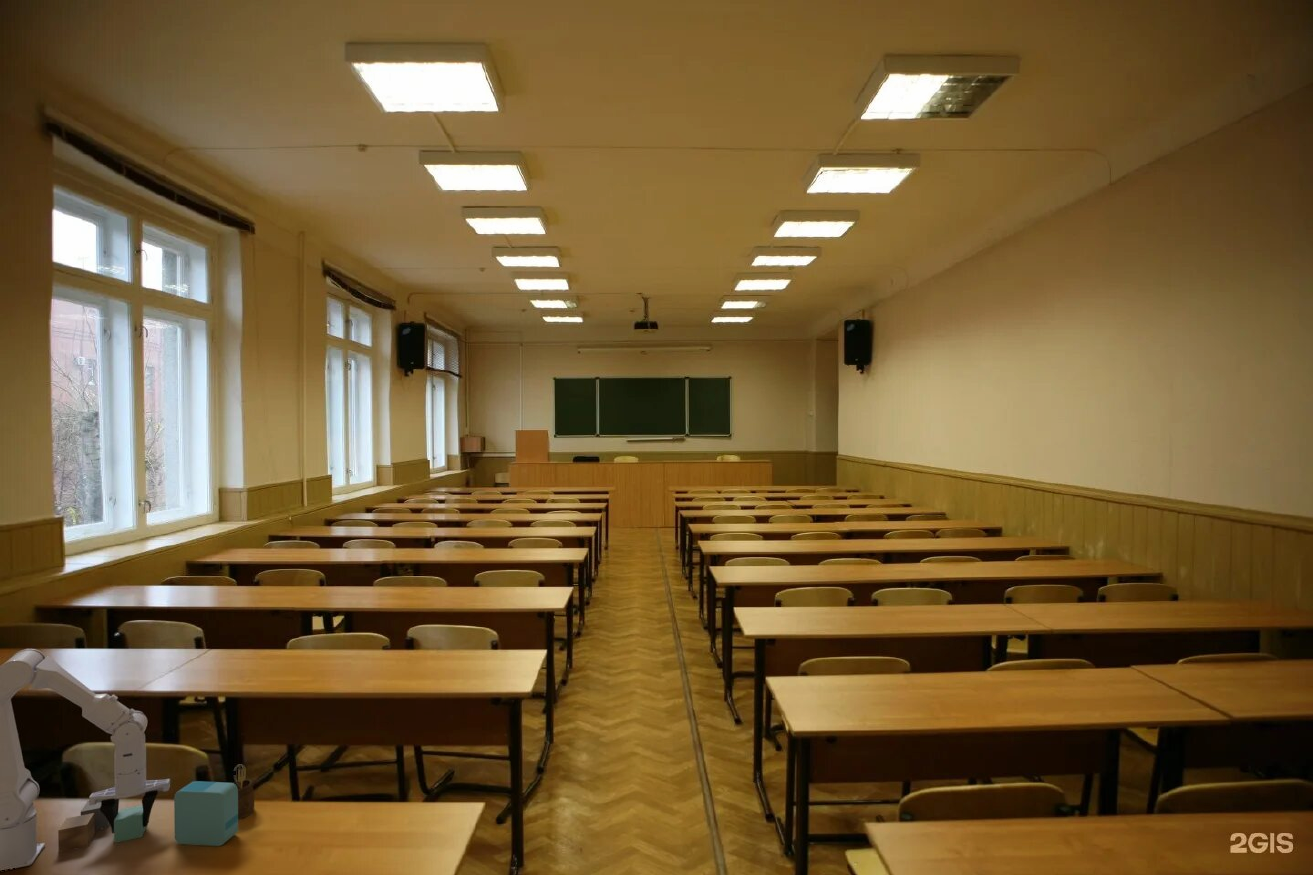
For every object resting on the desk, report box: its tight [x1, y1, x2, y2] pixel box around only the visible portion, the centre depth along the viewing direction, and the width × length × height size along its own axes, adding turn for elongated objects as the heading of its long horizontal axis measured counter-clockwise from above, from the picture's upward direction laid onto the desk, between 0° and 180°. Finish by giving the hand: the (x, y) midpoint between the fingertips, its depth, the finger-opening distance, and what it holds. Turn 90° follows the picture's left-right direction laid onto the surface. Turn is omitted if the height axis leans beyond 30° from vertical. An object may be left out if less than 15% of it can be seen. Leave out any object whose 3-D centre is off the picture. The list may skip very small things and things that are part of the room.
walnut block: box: [57, 813, 95, 853], centre depth 151 cm, size 5×5×5 cm
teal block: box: [113, 804, 148, 844], centre depth 155 cm, size 5×5×5 cm
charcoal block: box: [80, 800, 110, 831], centre depth 158 cm, size 5×5×5 cm
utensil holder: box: [233, 763, 255, 820], centre depth 163 cm, size 6×6×12 cm
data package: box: [173, 780, 239, 847], centre depth 153 cm, size 12×4×12 cm, turn 85°
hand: (130, 827), depth 155 cm, fingers closed on teal block, 5 cm apart
